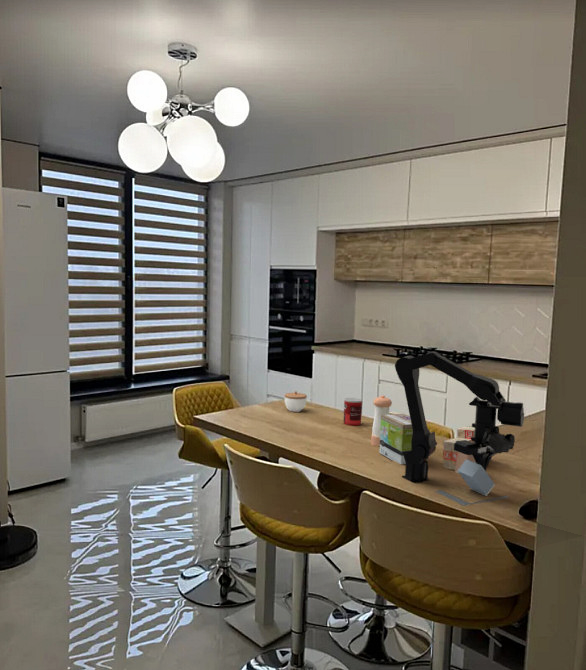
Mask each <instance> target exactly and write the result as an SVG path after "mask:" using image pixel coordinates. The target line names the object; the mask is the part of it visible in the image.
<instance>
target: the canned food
mask: <svg viewBox="0 0 586 670" xmlns="http://www.w3.org/2000/svg"><path fill="white" fill-rule="evenodd" d="M343 402H344V403H343V405H344V406H343V424H344V425H346V426H351V427H357V426H360V425H361V424H362V414H363V413H362V410H363V400H362V399H361V398H357V397H347V398H346V397H345V398H344V401H343Z"/></svg>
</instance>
